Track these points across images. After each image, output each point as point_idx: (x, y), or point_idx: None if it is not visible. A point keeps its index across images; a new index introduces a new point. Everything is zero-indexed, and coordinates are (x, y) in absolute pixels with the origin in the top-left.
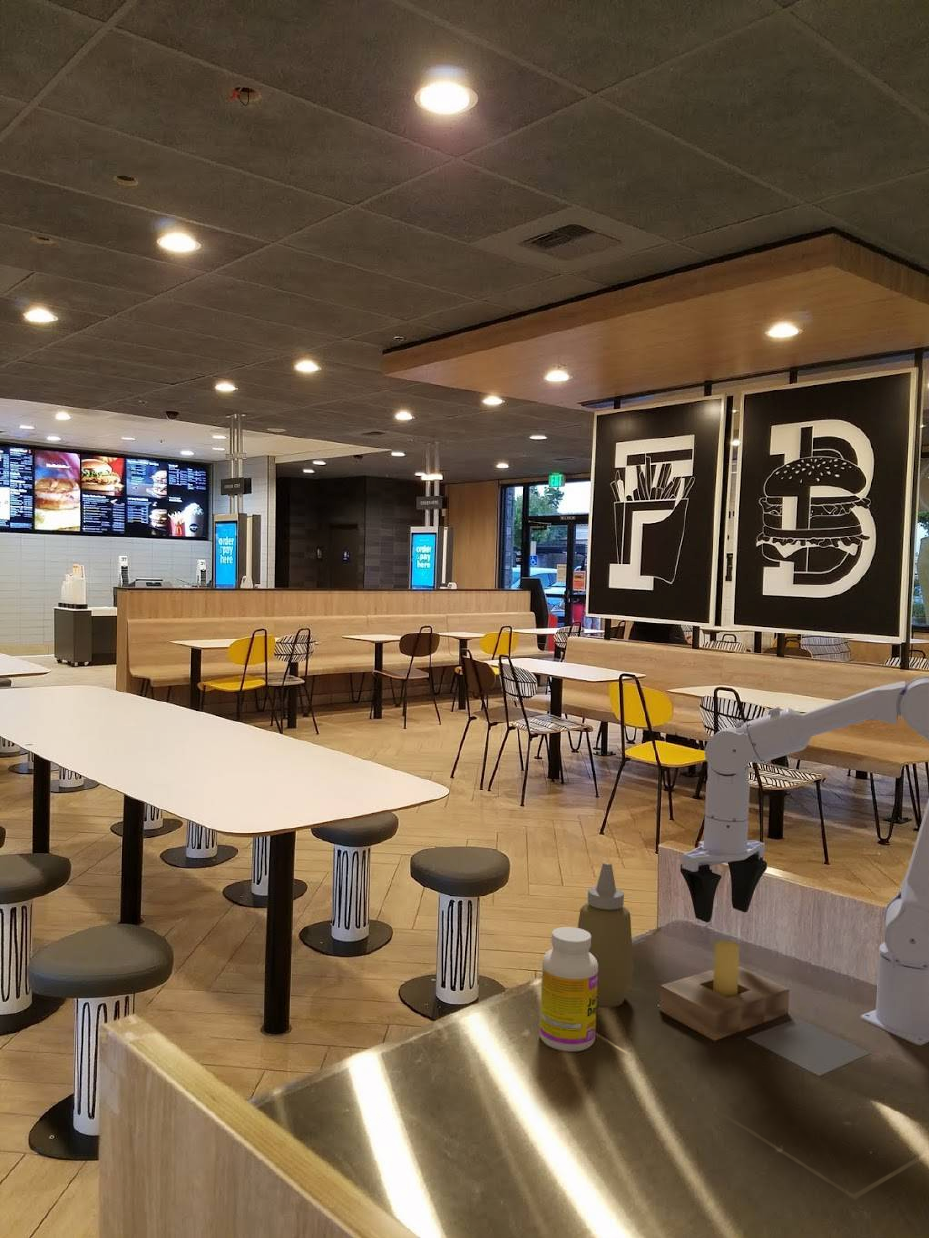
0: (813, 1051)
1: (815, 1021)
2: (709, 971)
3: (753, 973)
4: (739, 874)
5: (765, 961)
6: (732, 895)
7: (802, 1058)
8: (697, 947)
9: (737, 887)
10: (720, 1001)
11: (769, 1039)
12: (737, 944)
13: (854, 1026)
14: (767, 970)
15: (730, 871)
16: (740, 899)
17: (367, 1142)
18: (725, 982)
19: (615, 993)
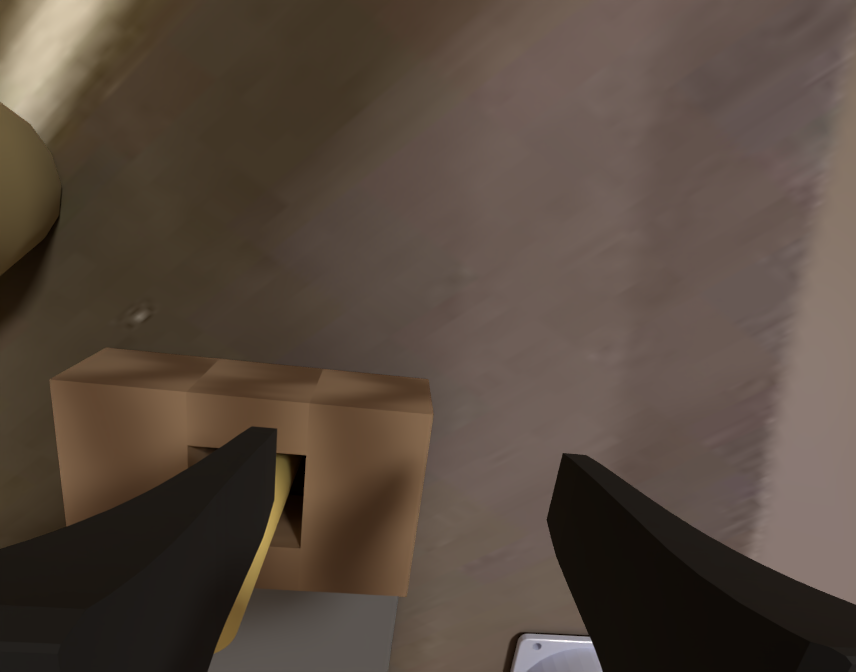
0: (283, 655)
1: (433, 585)
2: (301, 408)
3: (415, 492)
4: (668, 659)
5: (694, 330)
6: (594, 485)
7: (235, 657)
8: (641, 110)
9: (616, 559)
10: None
11: None
12: (235, 634)
13: (481, 635)
14: (631, 370)
15: (697, 578)
16: (576, 536)
17: None
18: None
19: None
